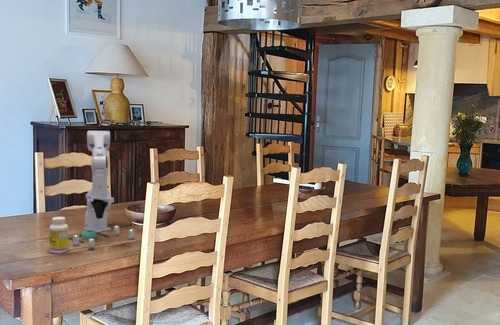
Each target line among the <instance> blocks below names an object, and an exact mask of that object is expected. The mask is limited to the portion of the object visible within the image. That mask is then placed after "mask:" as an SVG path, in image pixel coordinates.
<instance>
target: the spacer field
mask: <svg viewBox="0 0 500 325" xmlns="http://www.w3.org/2000/svg"><path fill="white" fill-rule="evenodd" d="M112 231H113V235H112V236H114V237H119V236H120V225H117V224H116V225H113V230H112ZM127 233H128V235H127V237H128V240H135V228H128V232H127ZM79 235H80V234H73V235H72V237H73V240H72V246H73V247H79V246H80V242H79V240H80V237H79ZM118 235H119V236H118ZM95 240H96V239H94V238H90V239H88V240H87V250H89V251H93V250H95Z"/></svg>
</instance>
